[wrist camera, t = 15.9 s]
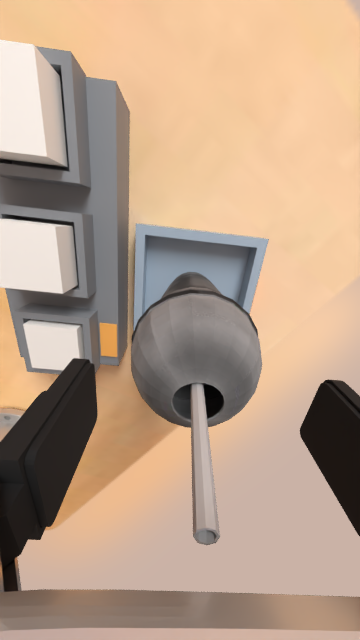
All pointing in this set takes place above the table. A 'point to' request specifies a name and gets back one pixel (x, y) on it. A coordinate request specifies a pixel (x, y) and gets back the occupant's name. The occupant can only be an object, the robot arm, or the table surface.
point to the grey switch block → (63, 199)
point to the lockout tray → (195, 263)
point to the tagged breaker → (53, 343)
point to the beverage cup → (196, 373)
